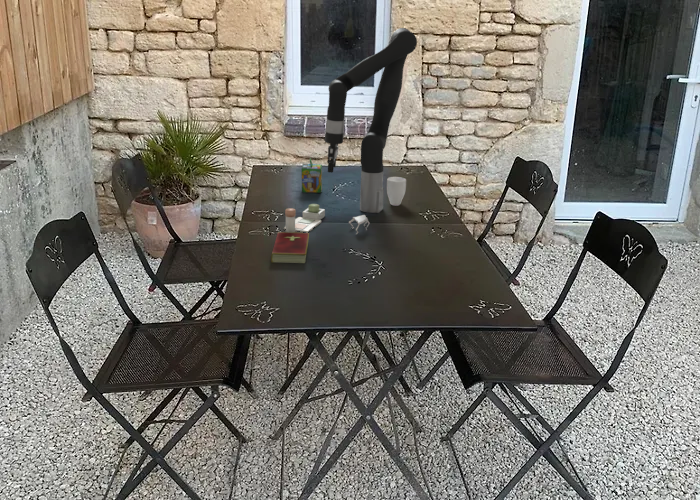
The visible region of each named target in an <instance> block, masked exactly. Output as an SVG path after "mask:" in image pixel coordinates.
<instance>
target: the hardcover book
mask: <svg viewBox="0 0 700 500" xmlns="http://www.w3.org/2000/svg"><path fill="white" fill-rule="evenodd" d="M309 239H310V232H309V233H303V232H296V231H295V232H286V231H283V232H282V231H278V232H277V234H276V237H275V241H274V245H273V248H272V252H271V254H270V255H271V256H270V262H271V264H272V263H285V264H287V263H291V264H294V263H295V264H305V263H306V259H307V252H308V245H309V241H310V240H309Z"/></svg>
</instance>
